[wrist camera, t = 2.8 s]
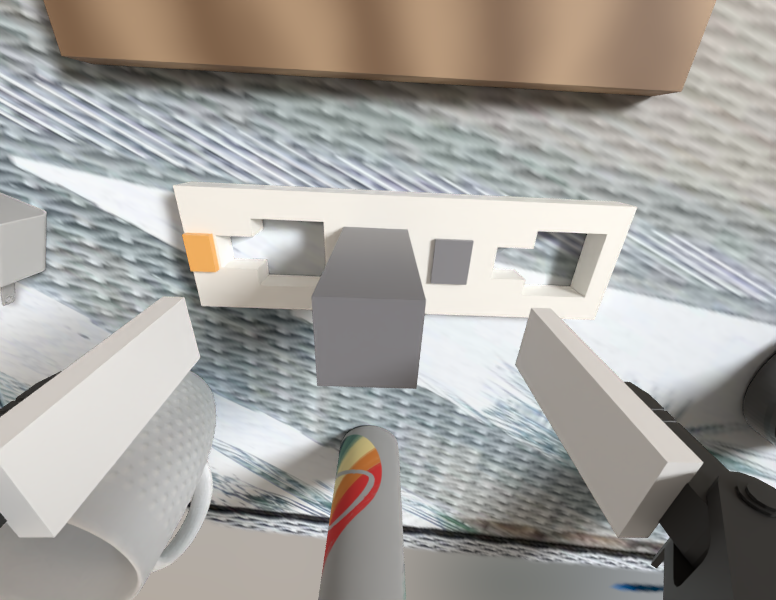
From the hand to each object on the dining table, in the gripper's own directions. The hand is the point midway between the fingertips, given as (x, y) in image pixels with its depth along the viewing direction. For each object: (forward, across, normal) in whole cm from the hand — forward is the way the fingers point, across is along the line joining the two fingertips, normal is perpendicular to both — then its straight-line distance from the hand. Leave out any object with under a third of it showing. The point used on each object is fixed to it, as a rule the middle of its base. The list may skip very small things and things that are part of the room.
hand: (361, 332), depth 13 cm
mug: (+12, +17, +15) cm, 25 cm away
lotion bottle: (+11, 0, +20) cm, 23 cm away
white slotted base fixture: (+11, -2, 0) cm, 12 cm away
